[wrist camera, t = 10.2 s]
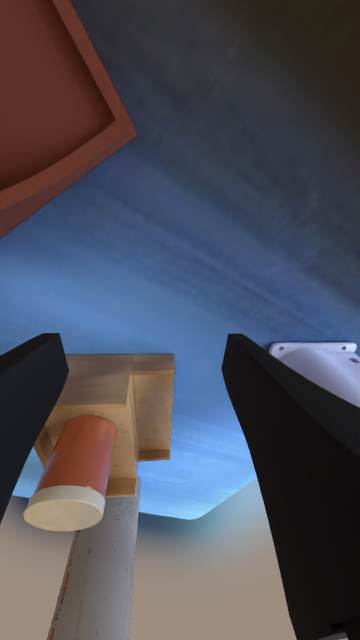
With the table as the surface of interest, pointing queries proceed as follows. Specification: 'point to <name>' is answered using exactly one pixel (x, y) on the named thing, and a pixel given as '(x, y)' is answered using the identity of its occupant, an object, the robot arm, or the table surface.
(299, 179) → the table surface
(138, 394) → the spice rack
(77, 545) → the thermos bottle
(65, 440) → the spice jar
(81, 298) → the table surface
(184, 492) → the table surface
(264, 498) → the robot arm
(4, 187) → the hanging shelf
